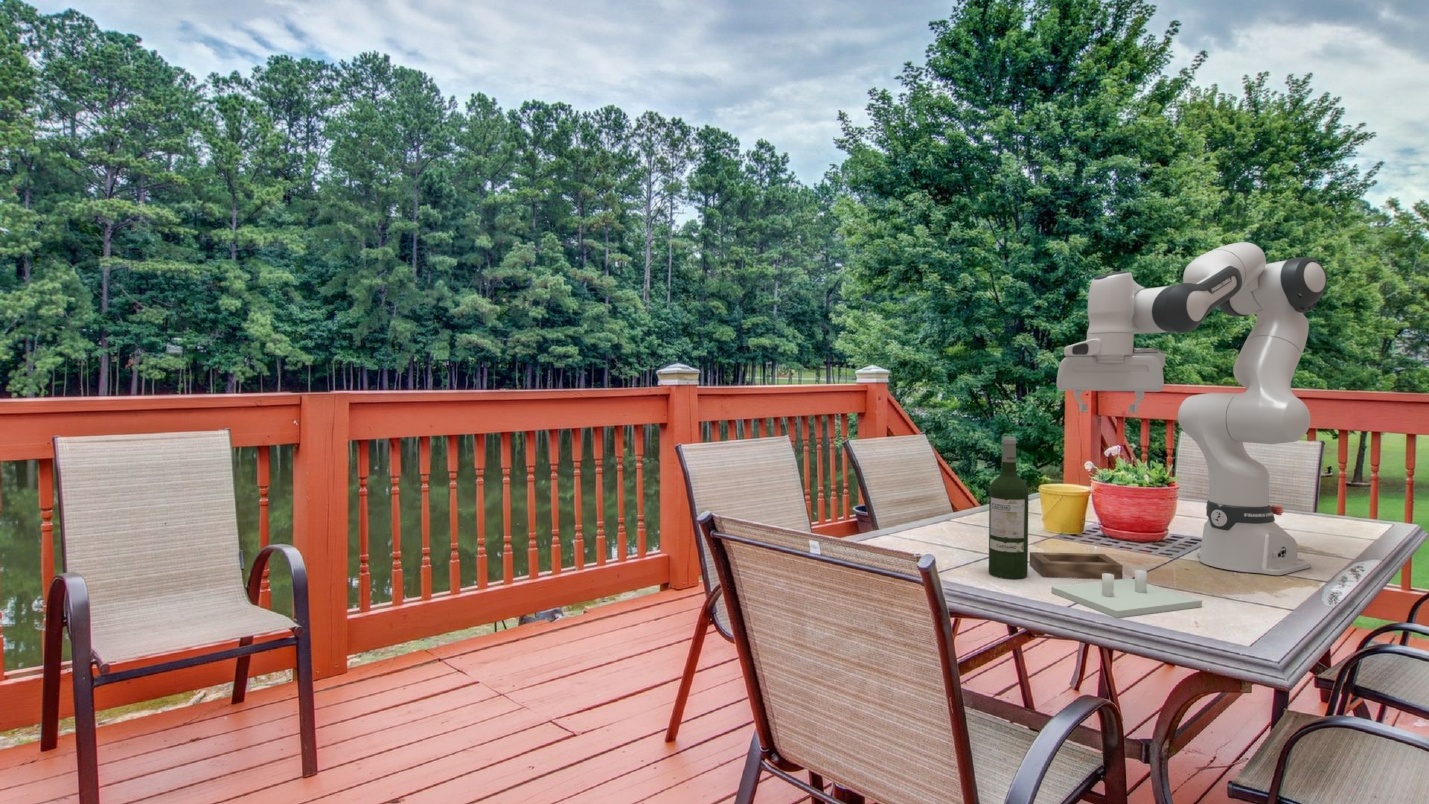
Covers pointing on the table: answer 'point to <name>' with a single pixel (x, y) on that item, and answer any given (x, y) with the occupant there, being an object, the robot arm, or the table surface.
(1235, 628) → the table surface
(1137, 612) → the board
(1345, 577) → the table surface
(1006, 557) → the wine bottle
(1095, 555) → the frame
